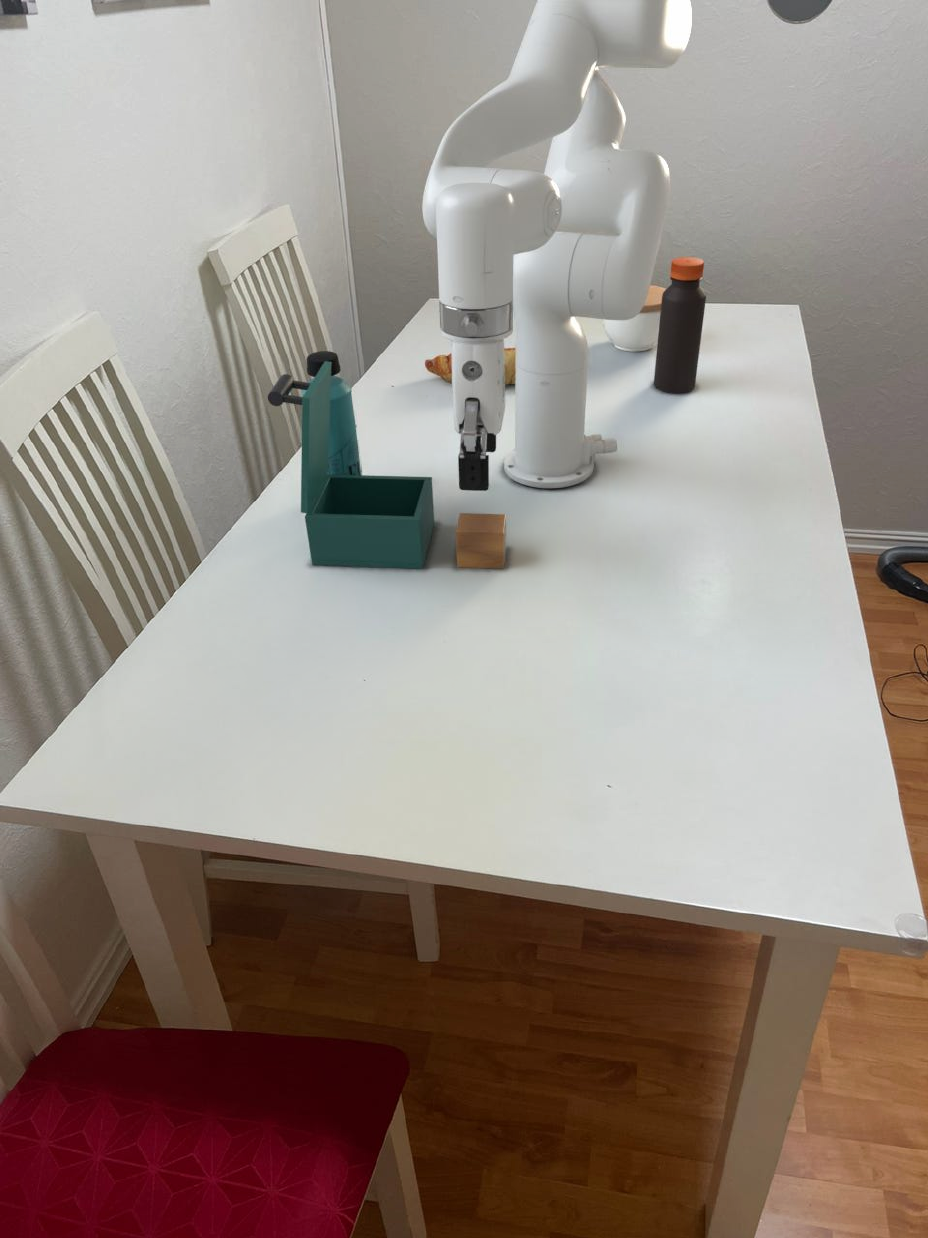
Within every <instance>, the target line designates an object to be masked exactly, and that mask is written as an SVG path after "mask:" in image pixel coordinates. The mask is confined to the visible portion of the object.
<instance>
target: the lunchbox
mask: <svg viewBox="0 0 928 1238" xmlns="http://www.w3.org/2000/svg"><path fill="white" fill-rule="evenodd" d="M434 507H435V506H434V491H433V476H408V475H407V476H404V475H403V476H402V475H369V474H368V475H365V474H364V475H363V474H362V475H329V474H326V476H325V478H324V480H323V482H322V484H321V487H320V489H319V491H318V493H317V495H316V497H315V499H314V501H313V503H312V505H311V507H310V509H309V511H308V513H305V515H304V521H305V528H306V534H307V541H308V547H309V553H310V554H309V555H310V560H311V565H312V566H328V567H329V566H330V567H331V566H332V567H356V568H357V567H358V568H361V567H362V568H386V569H388V568H389V569H411V570H413V569H415V570H417V569H418V570H423V569H424V565H425V562H426V558H427V554H428V550H429V546H430V543H431V538H432V534H433V531H434V527H435V510H434Z"/></svg>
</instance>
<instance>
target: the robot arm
mask: <svg viewBox="0 0 928 1238" xmlns="http://www.w3.org/2000/svg"><path fill="white" fill-rule="evenodd" d="M692 19H693V18H692V5H691V0H536V3H535V5H534V8H533V11H532V14H531V15H530V19H529V21H528V24H527V27H526V29H525V32H524V35H523V38H522V40H521V42H520V43H521V44H520V46H519V48H518V51H517V54H516V57H515V60H514V62H513V65H512V68H511V70H510V73H509V76H508V78H507V79H506V80H504V81H502V82H501V83H499V84H498V85H496V86H495V87H494V88H492V89H490V90H489V91H488V92H487V93H485V94H483V96H482V97H480V98H479V99H478V100H476V101H475V102H474V103H473V104H472V105H471V106H469V107H467V109H466V110H464V111H463V112H462V113H461V114H460V115H459V116H458V117H456V118H455V120H454V121H453V122H452V123H451V124H450V126H449V127H448V128H447V130H446V132H445V133H444V135H443V137H442V139H441V141H440V143H439V146H438V148H437V151H436V153H435V156H434V159H433V161H432V164H431V166H430V169H429V172H428V175H427V178H426V181H425V182H426V183H425V185H424V190H423V195H422V205H421V206H422V209H421V210H422V218H423V223H424V226H425V228H426V230H427V231H428V233H429V234H430V235H431V237H433V239H435V240H436V247H437V249H436V250H437V252H436V253H437V273H438V276H437V277H438V304H439V305H438V307H439V330H440V331H439V333H440V335H441V337H443V338H444V339H447V340H449V341H451V343H450V346H451V348H450V349H451V350H450V351H451V353H450V354H452V383H451V389H452V390H451V391H452V408H453V409H452V411H453V425H454V431H455V432H456V433H457V434H458V435H460V436H459V451H458V457H457V460H458V464H457V465H458V488H459V490H461V491H475V492H479V491H480V492H487V491H488V490H489V487H490V456H489V454H487V453H495V452H496V450H497V435H498V434H500V432H501V431H502V427H503V422H504V416H505V410H506V385H505V351H504V348H505V339H506V338H508V337H510V336H512V334H513V332H514V335H515V342H514V343H515V348H516V365H515V384H514V385H515V386H514V387H515V391H514V393H515V394H514V395H515V398H514V399H515V401H514V404H515V405H514V406H515V407H514V412H515V413H514V414H515V415H514V418H515V419H514V439H515V440H514V441H515V442H514V449H512V450H510V451H509V452H508V453H507V454H506V455H505V458H504V461H503V470H504V471H505V474H506V476H507V477H509V479H511V480H513V481H515V482H516V483H518V484H521V485H523V486H527V487H531V488H536V489H537V488H538V489H563V488H568V487H572V486H576V485H578V484H580V483H582V482H584V481H586V480H587V479H588V478H590V476H591V475H592V474H593V471H594V469H595V468H594V465H595V462H594V458H595V457H596V456H597V455H598V454H611V453H615V452H617V451H618V443H617V439H616V438H615V437H612V438H605V439H603V438H602V435H601V433H597V434H591V435H586V434H585V425H586V406H587V405H586V404H587V388H588V370H589V369H588V368H589V343H588V340H587V336H586V334H585V332H584V330H583V327H582V325H581V324H580V321H578V317H579V318H588V319H596V320H597V319H598V320H602V319H606V320H629V319H632V318H633V317H635V316H636V315H637V314H638V313H639V312H640V311H641V309H642V307H643V305H644V303H645V300H646V297H647V294H648V291H649V287H650V285H651V283H652V279H653V275H654V269H655V266H656V261H657V257H658V253H659V248H660V244H661V240H662V235H663V231H664V227H665V223H666V220H667V219H666V218H667V214H668V209H669V203H670V195H671V176H670V169H669V166H668V164H667V162H666V160H665V159H664V158H663V157H662V156H661V155H660V154H658V153H656V152H653V151H648V150H642V149H627V148H625V149H624V148H621V145H622V142H623V136H624V133H625V129H626V114H625V111H624V108H623V106H622V103H621V102H620V100H619V98H618V95H617V94H616V92H615V91H614V90H613V88H612V87H611V85H610V84H609V83H608V82H607V81H606V79H605V78H604V76H603V75H602V73H601V71H600V69H599V68H614V69H615V68H616V69H618V68H619V69H621V68H623V69H624V68H626V69H627V68H628V69H631V68H632V69H666V68H667V69H668V68H670V67H671V68H672V66H674V65H675V64H676V63H678V61H679V60H680V58H681V57H682V55H683V54H684V52H685V50H686V48H687V45H688V42H689V38H690V35H691V31H692ZM550 139H551V143H550V147H549V151H548V155H547V159H546V163H545V168H544V171H543V173H542V172H538V171H535V170H525V169H507V168H499V167H487V166H488V165H490V164H491V163H493V162H494V161H496V160H499V159H500V158H502V157H504V156H507V155H509V154H512V153H514V152H519V151H520V150H523V149H526V148H529V147H533V146H535V145H538V144H540V143H543V142H546V141H548V140H550ZM557 230H562V231H557ZM589 233H590V234H589Z"/></svg>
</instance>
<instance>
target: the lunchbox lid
mask: <svg viewBox="0 0 928 1238" xmlns="http://www.w3.org/2000/svg"><path fill="white" fill-rule="evenodd" d="M313 379H314V380H313V381H312V383H309V382H306V381H299V380H295V378H294V377H293V376H292V375H290V374H289V373H288V374H287V373H284V374H282V375H280V377H279V378H278V380H277V381H276V382H275V384H274V385H273V387H272V388H271V390H270V391H269V392H268V394H267V401H268V402H269V404H270V405H271V406H273V407H281V406H282V405H283V404H284V403H285V404H292V405H299V406H301V460H300V461H301V462H300V464H301V467H300V468H301V469H300V513H301V514H306V513H308V511H309V509H310V507H311V505H312V503H313V501H314V499H315V497H316V495H317V493H318V491H319V489H320V487H321V484H322V482H323V480H324V478H325V476H326V474H327V472H328V454H329V424H330V393H331V362H327V361H325V362H324V363H323V365H322V367H321V368H320V370H319V372H318V373H317V375H316V376H315V377H313ZM293 389H295V390H302V391H303V390H307V391H306V392H305V394H304V396H299V395H293V394H290V393H291V392H292V390H293Z"/></svg>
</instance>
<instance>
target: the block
mask: <svg viewBox="0 0 928 1238" xmlns="http://www.w3.org/2000/svg"><path fill="white" fill-rule="evenodd" d="M458 515H459V516H458V520H457V523H456V524H457V525H456V529H455V546H456V547H455V549H456V550H455V551H456V568H468V569H495V570H496V569H497V570H499V569H500V570H504V568H505V560H506V554H507V514H504V513H473V512H472V513H471V512H470V513H469V512H460V513H459V514H458Z"/></svg>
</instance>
